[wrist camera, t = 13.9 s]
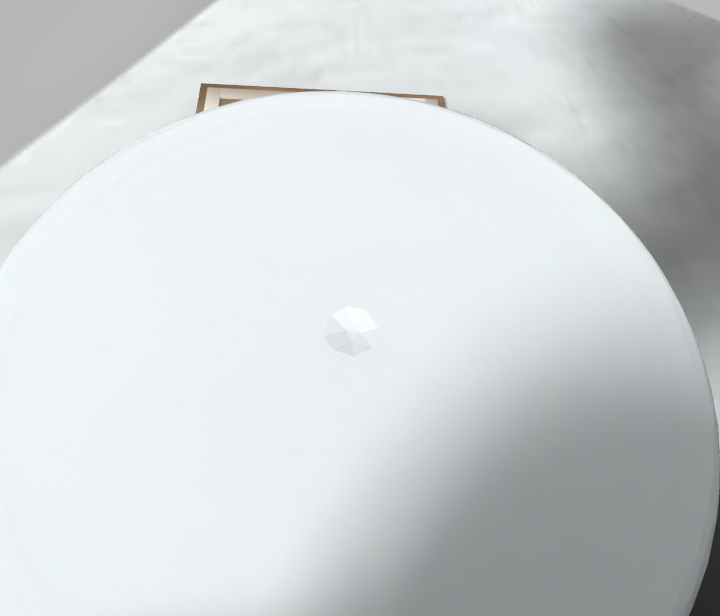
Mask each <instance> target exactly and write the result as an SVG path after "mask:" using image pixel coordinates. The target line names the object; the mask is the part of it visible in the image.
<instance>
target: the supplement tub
mask: <svg viewBox="0 0 720 616" xmlns="http://www.w3.org/2000/svg"><path fill="white" fill-rule="evenodd" d="M719 486H720V450H719V434H718V423H717V418H716V412H715V407H714V401H713V396H712V390H711V386H710V382H709V379H708V375H707V371H706V367H705V364H704V360H703V357H702V355H701V352H700V349H699V346H698V343H697V341H696V338H695V335H694V332H693V330H692V327H691V325H690V323H689V320H688V318H687V316H686V314H685V312H684V309H683V307H682V305H681V304H680V302H679V300H678V298H677V296H676V295H675V293H674V291H673V289H672V287H671V286H670V284H669V282H668V280H667V279H666V277H665V275H664V274H663V272H662V270H661V269H660V267H659V265H658V264H657V262H656V261H655V259H654V258H653V256H652V255H651V254H650V252H649V251H648V250H647V248H646V247H645V245H644V244H643V243H642V241H641V240H640V239H639V238H638V237H637V235H636V234H635V233H634V232H633V230H632V229H631V228H630V227H629V226H628V224H627V223H626V222H625V221H624V220H623V219H622V218H621V217H620V216H619V215H618V214H617V213H616V212H615V211H614V210H613V209H612V207H611V206H610V205H609V204H608V203H607V202H606V201H604V200H603V199H602V198H601V197H600V196H599V195H598V194H597V193H596V192H594V191H593V190H592V189H591V188H590V187H589V186H588V185H586V184H585V183H584V182H583V181H582V180H580V179H579V178H578V177H577V176H576V175H574V174H573V173H571V172H570V171H569V170H567V169H566V168H565V167H563V166H562V165H560V164H559V163H558V162H556V161H555V160H554V159H552V158H551V157H549V156H548V155H546V154H544V153H543V152H541V151H539V150H538V149H536V148H534V147H532V146H531V145H529V144H527V143H525V142H524V141H522V140H520V139H518V138H517V137H515V136H513V135H511V134H509V133H507V132H505V131H503V130H501V129H499V128H497V127H495V126H493V125H490V124H488V123H485V122H483V121H480V120H478V119H475V118H472V117H470V116H467V115H464V114H462V113H459V112H456V111H453V110H450V109H446V108H443V107H440V106H436V105H433V104H429V103H424V102H420V101H416V100H411V99H407V98H401V97H395V96H389V95H382V94H373V93H361V92H349V91H310V92H295V93H282V94H276V95H270V96H264V97H258V98H253V99H247V100H241V101H238V102H234V103H230V104H227V105H223V106H220V107H216V108H212V109H209V110H205V111H203V112H200V113H197V114H194V115H192V116H189V117H186V118H183V119H181V120H178V121H176V122H174V123H172V124H169V125H167V126H165V127H163V128H161V129H159V130H157V131H154V132H152V133H150V134H148V135H146V136H144V137H142V138H141V139H139V140H137V141H135V142H134V143H132V144H130V145H128V146H127V147H125V148H123V149H121V150H120V151H118V152H117V153H115V154H114V155H112V156H111V157H109V158H108V159H106V160H105V161H103V162H102V163H100V164H99V165H97V166H96V167H95V168H93V169H92V170H91V171H89V172H88V173H87V174H85V175H84V176H83V177H81V178H80V179H79V180H77V181H76V182H75V183H74V184H73V185H72V186H71V187H70V188H69V189H67V190H66V191H65V192H64V193H63V194H62V195H61V196H60V197H59V198H58V199H57V200H55V201H54V202H53V203H52V204H51V205H50V206H49V207H48V208H47V209H46V210H45V211H44V212H43V213H42V214H41V215H40V216H39V217H38V219H37V220H36V221H35V222H34V223H33V224H32V225H31V226H30V227H29V229H28V230H27V231H26V232H25V234H24V235H23V236H22V238H21V239H20V240H19V241H18V243H17V244H16V245H15V247H14V248H13V249H12V250H11V252H10V253H9V255H8V256H7V258H6V260H5V261H4V263H3V264H2V266H1V267H0V616H689V614H690V612H691V610H692V607H693V604H694V602H695V599H696V596H697V593H698V590H699V588H700V585H701V582H702V579H703V576H704V573H705V571H706V568H707V565H708V561H709V556H710V551H711V546H712V541H713V536H714V531H715V526H716V521H717V513H718V502H719Z"/></svg>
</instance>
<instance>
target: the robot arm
mask: <svg viewBox="0 0 720 616" xmlns="http://www.w3.org/2000/svg"><path fill="white" fill-rule="evenodd" d="M689 616H720V486H719V502H718V513H717V521H716V526H715V531H714V536H713V541H712V546H711V551H710V556H709V561H708V565H707V568H706V571H705V573H704V576H703V579H702V582H701V585H700V588H699V590H698V593H697V596H696V599H695V602H694V604H693V607H692V610H691V612H690V614H689Z"/></svg>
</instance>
